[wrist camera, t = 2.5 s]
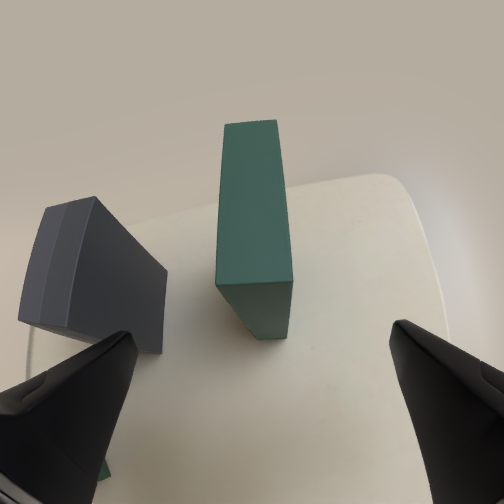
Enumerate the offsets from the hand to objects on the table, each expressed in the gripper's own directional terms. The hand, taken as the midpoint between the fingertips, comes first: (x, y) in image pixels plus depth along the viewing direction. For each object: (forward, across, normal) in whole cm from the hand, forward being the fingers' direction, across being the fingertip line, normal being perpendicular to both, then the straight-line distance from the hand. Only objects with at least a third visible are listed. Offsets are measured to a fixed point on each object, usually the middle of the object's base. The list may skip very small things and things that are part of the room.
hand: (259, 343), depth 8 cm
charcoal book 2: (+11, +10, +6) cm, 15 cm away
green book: (+12, 0, +5) cm, 12 cm away
